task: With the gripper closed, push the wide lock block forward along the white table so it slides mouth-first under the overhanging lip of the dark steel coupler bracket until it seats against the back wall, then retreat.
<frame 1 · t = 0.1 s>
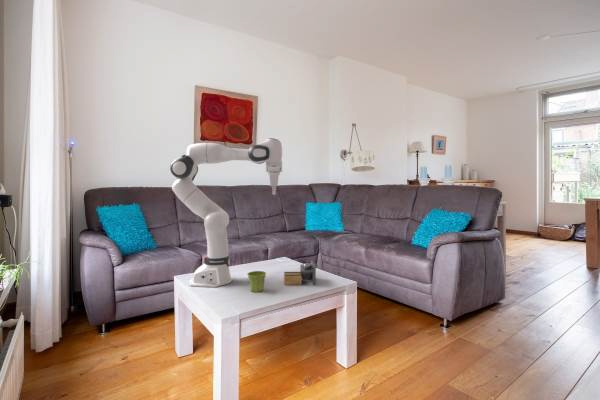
hand: (274, 194, 175), 48 cm above the table, fingers open, 8 cm apart
lock block: (292, 282, 175), on the table
coupler bracket: (309, 282, 176), on the table
plant pot: (257, 290, 163), on the table
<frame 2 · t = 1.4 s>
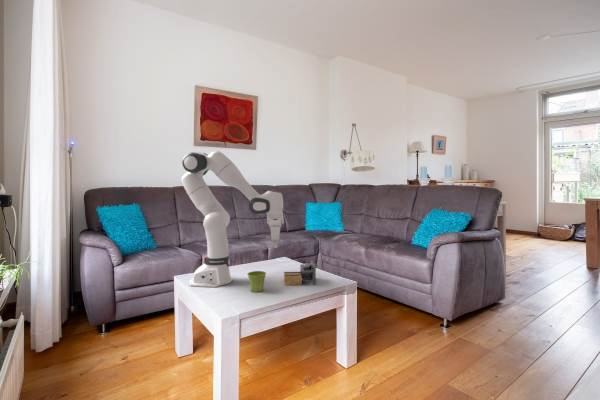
hand: (275, 245, 173), 20 cm above the table, fingers open, 8 cm apart
nothing on the table moved.
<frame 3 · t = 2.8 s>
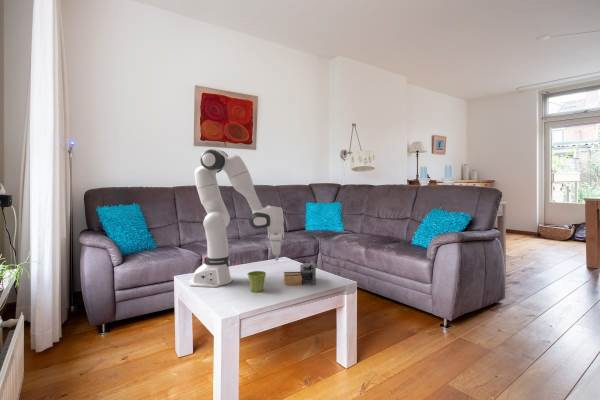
hand: (277, 259, 174), 13 cm above the table, fingers closed
nothing on the table moved.
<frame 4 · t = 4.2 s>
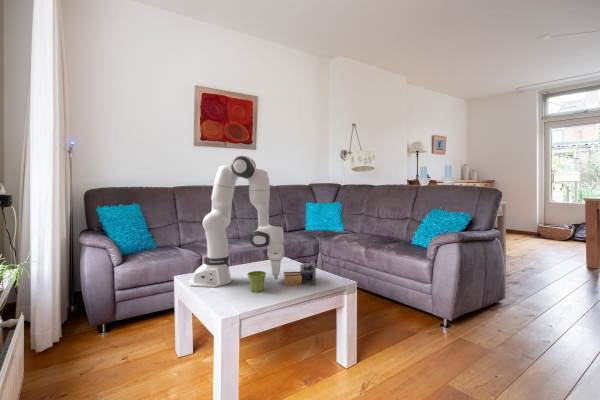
hand: (276, 278, 175), 2 cm above the table, fingers closed
nothing on the table moved.
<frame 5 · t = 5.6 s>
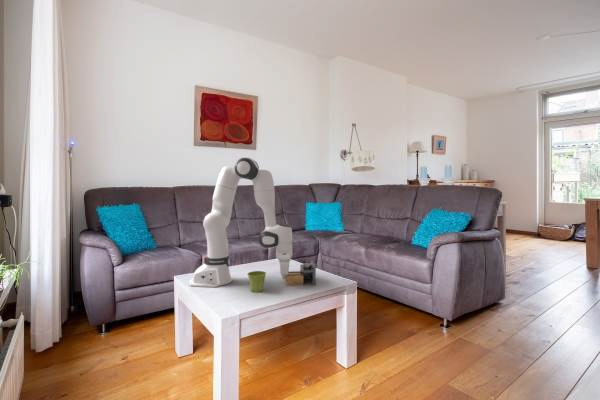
hand: (284, 278, 175), 2 cm above the table, fingers closed
lock block: (294, 282, 175), on the table, touching gripper
everything else where it was.
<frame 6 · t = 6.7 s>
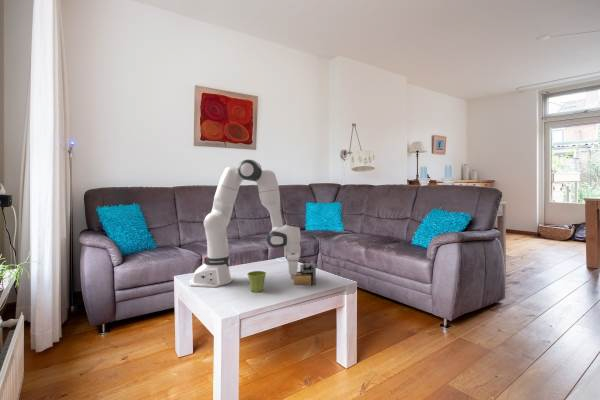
hand: (292, 278, 175), 2 cm above the table, fingers closed
lock block: (302, 282, 176), on the table
everything else where it was.
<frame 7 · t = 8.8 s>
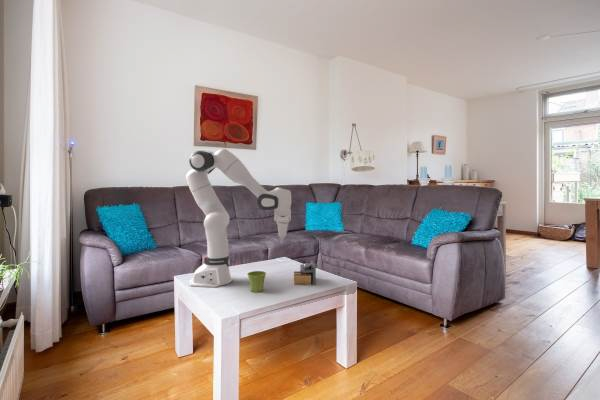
hand: (281, 242, 173), 22 cm above the table, fingers closed
nothing on the table moved.
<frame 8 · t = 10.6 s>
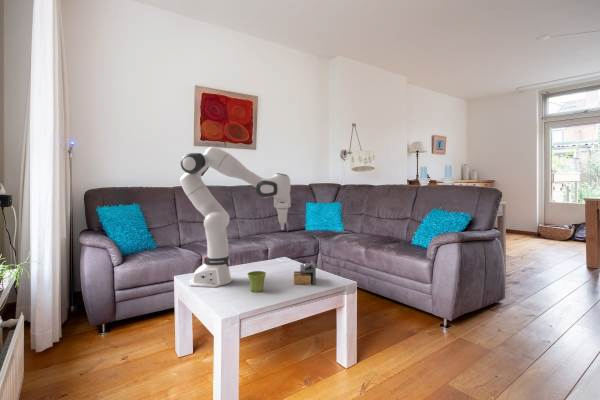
hand: (282, 229, 173), 29 cm above the table, fingers closed
nothing on the table moved.
at the end: lock block 0.3 cm from the target spot on the coupler bracket, point 0.0 cm above the coupler bracket's base; lock block tilted 0°; lock block moved 5.3 cm from its start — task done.
